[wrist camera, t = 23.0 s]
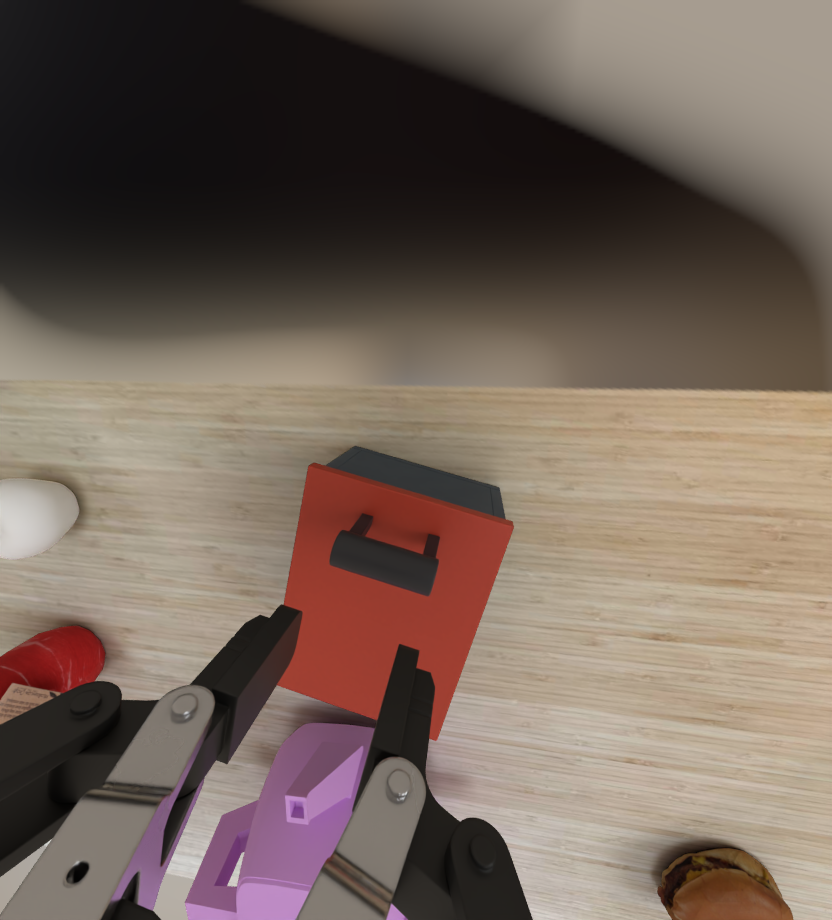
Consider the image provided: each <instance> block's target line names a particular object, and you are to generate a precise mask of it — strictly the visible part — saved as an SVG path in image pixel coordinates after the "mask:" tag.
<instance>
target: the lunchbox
mask: <svg viewBox="0 0 832 920" xmlns="http://www.w3.org/2000/svg"><path fill="white" fill-rule="evenodd" d="M325 466H328V467H331V468H334V469H338V470H341V471H344V472H348V473H351V474H354V475H358V476H361V477H365V478H368V479H371V480H375V481H378V482H381V483H385V484H388V485H391V486H395V487H398V488H402V489H405V490H408V491H412V492H415V493H418V494H422V495H425V496H429V497H432V498H435V499H439V500H442V501H445V502H449V503H452V504H455V505H459V506H462V507H466V508H469V509H472V510H476V511H479V512H482V513H486V514H489V515H492V516H496V517H499V518H503V519H505V514H504V509H503V503H502V498H501V493H500V488H499V487H495V486H492V485H488V484H485V483H481V482H478V481H474V480H471V479H468V478H464V477H461V476H457V475H454V474H450V473H447V472H443V471H440V470H437V469H433V468H430V467H426V466H423V465H419V464H416V463H413V462H409V461H406V460H402V459H399V458H395V457H392V456H388V455H385V454H382V453H378V452H375V451H371V450H368V449H364V448H361V447H357V446H354V447H353V448H351V449H350V450H348V451H347V452H345V453H344V454H342V455H341V456H339V457H338V458H336V459H334V460H333V461H331V462H330V463H328V464H327V465H325Z"/></svg>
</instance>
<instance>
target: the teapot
mask: <svg viewBox="0 0 832 920" xmlns="http://www.w3.org/2000/svg"><path fill="white" fill-rule="evenodd" d="M374 729H375V728H370V727H362V726H355V725H344V724H330V723H308V724H304V725H302V726H301V727H300V728H298V729H297V730H296V731H295V732H294V733H292V734H291V735H290V736H289V737H288V738H287V739H286V740H285V741H284V743H283V744H282V745H281V747H280V749H279V751H278V753H277V755H276V757H275V759H274V761H273V764H272V766H271V769H270V771H269V774H268V776H267V778H266V781H265V784H264V787H263V789H262V792H261V795H260V798H259V800H257V801H255V802H252V803H250V804H248V805H245V806H243V807H240V808H238V809H236V810H233V811H231V812H229V813H226V814H224V815H222V817H221V819H220V822H219V824H218V826H217V829H216V831H215V833H214V836H213V838H212V840H211V843H210V845H209V847H208V850H207V852H206V854H205V857H204V859H203V861H202V864H201V866H200V868H199V871H198V873H197V875H196V878H195V880H194V882H193V885H192V887H191V889H190V892H189V894H188V897H187V899H186V901H185V905H186V910H187V915H188V920H296V918H297V916H298V914H299V912H300V910H301V908H302V906H303V904H304V902H305V900H306V898H307V896H308V894H309V892H310V890H311V888H312V886H313V884H314V882H315V880H316V878H317V876H318V874H319V872H320V870H321V868H322V866H323V864H324V863H325V861H326V860H327V858H328V857H329V858H330V857H331V855H332V853H333V852H334V850H335V848H336V846H337V844H338V842H339V840H340V838H341V836H342V834H343V831H344V829H345V827H346V825H347V823H348V821H349V819H350V817H351V815H352V813H353V812H352V808H353V805H354V801H355V797H356V794H357V790H358V787H359V783H360V780H361V776H362V772H363V769H364V765H365V762H366V758H367V754H368V751H369V747H370V744H371V740H372V737H373V733H374ZM242 852H245V853H244V857H243V861H242V865H241V870H240V875H239V880H238V884H237V887H231V886H227V884H228V882H229V880H230V878H231V875H232V873H233V871H234V869H235V866H236V864H237V862H238V859H239V857H240V855H241V853H242ZM386 920H408V919H407V918H406V917H405V916H404V915H403V914H402V913H401V912H400V911H399V910H398V909H397V908H396V907H395V906H394V905H393V904H392V903H391V906H390V910H389V913H388V916H387V919H386Z"/></svg>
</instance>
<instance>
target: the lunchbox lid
mask: <svg viewBox="0 0 832 920" xmlns="http://www.w3.org/2000/svg"><path fill="white" fill-rule="evenodd" d="M513 528H514V526H513V522H512V521H509V520H506V519H503V518H499V517H496V516H492V515H489V514H486V513H482V512H479V511H476V510H472V509H469V508H466V507H462V506H459V505H455V504H452V503H449V502H445V501H442V500H439V499H435V498H432V497H429V496H425V495H422V494H418V493H415V492H412V491H408V490H405V489H402V488H398V487H395V486H391V485H388V484H385V483H381V482H378V481H375V480H371V479H368V478H365V477H361V476H358V475H354V474H351V473H348V472H344V471H341V470H338V469H334V468H331V467H328V466H324V465H321V464H317V463H312V464H311V465H309V466H308V471H307V477H306V482H305V488H304V494H303V499H302V505H301V510H300V516H299V522H298V527H297V533H296V538H295V544H294V550H293V555H292V561H291V566H290V572H289V578H288V583H287V589H286V595H285V600H284V605H285V606H288V607H291V608H294V609H297V610H300V611H302V612H303V615H302V620H301V625H300V630H299V635H298V640H297V645H296V649H295V652H294V655H293V657H292V660H291V662H290V664H289V666H288V668H287V669H286V671H285V673H284V674H283V676H282V677H281V679H280V681H279V682H278V684H277V685H278V686H281V687H283V688H286V689H289V690H292V691H295V692H298V693H301V694H303V695H306V696H309V697H312V698H315V699H318V700H321V701H323V702H326V703H329V704H332V705H335V706H338V707H340V708H343V709H346V710H349V711H352V712H355V713H358V714H360V715H363V716H366V717H369V718H372V719H375V720H377V719H378V715H379V711H380V708H381V704H382V701H383V697H384V694H385V690H386V687H387V683H388V680H389V676H390V673H391V669H392V666H393V663H394V659H395V656H396V652H397V649H398V646H399V644H402V645H405V646H408V647H411V648H414V649H417V650H420V652H419V657H418V662H417V667H416V668H419V669H422V670H425V671H428V672H431V675H432V678H433V681H434V685H435V695H434V703H433V711H432V717H431V727H430V735H429V739H432V740H435V741H437V739H438V736H439V733H440V730H441V728H442V725H443V722H444V719H445V717H446V714H447V711H448V708H449V705H450V703H451V700H452V697H453V694H454V692H455V689H456V686H457V683H458V681H459V678H460V675H461V672H462V670H463V667H464V664H465V661H466V658H467V656H468V653H469V650H470V647H471V645H472V642H473V639H474V636H475V634H476V631H477V628H478V625H479V623H480V620H481V617H482V614H483V611H484V609H485V606H486V603H487V600H488V598H489V595H490V592H491V589H492V587H493V584H494V581H495V578H496V575H497V573H498V570H499V567H500V564H501V562H502V559H503V556H504V553H505V551H506V548H507V545H508V542H509V540H510V537H511V534H512V531H513Z"/></svg>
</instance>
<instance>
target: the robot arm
mask: <svg viewBox="0 0 832 920" xmlns="http://www.w3.org/2000/svg"><path fill="white" fill-rule="evenodd" d="M302 615H303V612H302V611H300V610H297V609H294V608H291V607H288V606H285V605H280V606H279V607H278V608H277V609H276V611H275V612H274V613H273V614H272V616H271V617H270V618H268V617H265V616H262V615H259V616H257V617H255V618H254V619H252V620H250V621H248V622H246V623H245V624H244V625H243V626H242V627H241V628H240V630H239V631H238V632H237V633H236V634H235V636H234V637H232V638H231V640H230V641H229V642H228V643H227V644H226V646H225V647H223V648H222V650H221V651H220V652H219V653H218V654H217V655H216V656H215V657H214V658H213V660H212V661H211V662H210V663H209V664H208V665H207V666H206V667H205V669H204V670H203V671H202V672H201V673H200V674H199V675H198V676H197V677H196V679H195V680H194V681H193V682H192V683H191V684H190V685H187V686H182V687H179V688H176V689H174V690H172V691H170V692H168V693H167V694H166V695H164V696H163V697H162V698H161V699H160V700H151V701H143V700H121V699H122V693H121V690H120V689H119V687H118V686H117V685H115V684H113V683H110V682H105V681H96V682H90V683H85V684H82V685H79V686H77V687H75V688H73V689H71V690H69V691H67V692H65V693H63V694H61V695H59V696H57V697H55V698H53V699H51V700H49V701H47V702H45V703H43V704H41V705H39V706H37V707H35V708H32V709H30V710H28V711H26V712H24V713H22V714H20V715H18V716H16V717H14V718H12V719H10V720H8V721H6V722H4V723H2V724H0V877H1V876H2V875H4V874H5V873H6V872H8V871H9V870H10V869H12V868H13V867H14V866H16V865H17V864H19V863H20V862H21V861H22V860H24V859H25V858H27V857H28V856H29V855H31V854H32V853H33V852H35V851H36V850H37V849H39V848H40V847H41V846H43V845H44V844H46V843H47V842H48V841H50V840H51V839H52V838H53V839H52V840H51V842H50V843H49V845H48V846H47V847H46V849H45V851H44V852H43V853H42V855H41V856H40V858H39V859H38V861H37V862H36V863H35V865H34V866H33V868H32V869H31V871H30V872H29V874H28V875H27V877H26V878H25V879H24V881H23V882H22V884H21V885H20V887H19V888H18V890H17V891H16V893H15V894H14V895H13V897H12V898H11V900H10V901H9V903H8V904H7V905H6V907H5V908H4V910H3V911H2V913H1V914H0V920H161V919H160V918H159V917H158V916H157V915H156V914H155V912H154V911H153V908H154V905H155V902H156V899H157V895H158V892H159V888H160V885H161V882H162V879H163V877H164V874H165V872H166V870H167V867H168V865H169V863H170V860H171V858H172V856H173V853H174V851H175V849H176V846H177V844H178V842H179V839H180V837H181V835H182V833H183V830H184V828H185V826H186V823H187V821H188V819H189V816H190V814H191V812H192V809H193V807H194V805H195V802H196V800H197V798H198V796H199V793H200V791H201V789H202V786H203V783H204V777H205V776H206V774H207V773H208V771H209V770H210V768H211V767H212V765H213V764H214V762H215V761H216V760H217V761H220V762H223V763H225V764H228V762H229V760H230V759H231V757H232V756H233V754H234V752H235V751H236V749H237V748H238V746H239V744H240V743H241V741H242V740H243V738H244V736H245V735H246V733H247V732H248V730H249V728H250V727H251V725H252V724H253V722H254V720H255V719H256V717H257V716H258V714H259V712H260V711H261V709H262V708H263V706H264V705H265V703H266V701H267V700H268V698H269V697H270V695H271V693H272V692H273V690H274V689H275V687H276V685H277V684H278V682H279V681H280V679H281V677H282V676H283V674H284V673H285V671H286V669H287V668H288V666H289V664H290V662H291V660H292V657H293V655H294V652H295V649H296V645H297V640H298V635H299V630H300V625H301V620H302ZM419 652H420V650H417V649H414V648H411V647H408V646H405V645H402V644H399V646H398V649H397V652H396V656H395V659H394V663H393V666H392V669H391V673H390V676H389V680H388V683H387V687H386V690H385V694H384V697H383V701H382V704H381V708H380V711H379V715H378V719H377V722H376V726H375V729H374V733H373V737H372V740H371V744H370V747H369V751H368V754H367V758H366V762H365V765H364V769H363V772H362V776H361V780H360V783H359V787H358V790H357V794H356V797H355V801H354V805H353V808H352V812H353V813H352V815H351V817H350V819H349V821H348V823H347V825H346V827H345V829H344V831H343V834H342V836H341V838H340V840H339V842H338V844H337V846H336V848H335V850H334V852H333V853H332V855H331V857H330V858H329V857H328V858H327V860H326V861H325V863H324V864H323V866H322V868H321V870H320V872H319V874H318V876H317V878H316V880H315V882H314V884H313V886H312V888H311V890H310V892H309V894H308V896H307V898H306V900H305V902H304V904H303V906H302V908H301V910H300V912H299V914H298V916H297V918H296V920H386V919H387V916H388V913H389V910H390V906H391V903H392V904H393V905H394V906H395V907H396V908H397V909H398V910H399V911H400V912H401V913H402V914H403V915H404V916H405V917H406V918H407V919H408V920H533V919H532V916H531V913H530V910H529V908H528V905H527V902H526V899H525V896H524V893H523V890H522V887H521V884H520V881H519V879H518V876H517V873H516V870H515V867H514V864H513V861H512V858H511V855H510V852H509V850H508V847H507V845H506V843H505V841H504V839H503V838H502V836H501V835H500V834H499V832H498V831H497V830H496V829H495V828H494V827H493V826H492V825H491V824H489V823H488V822H486V821H484V820H482V819H479V818H466V819H464V820H462V821H461V822H459V821H458V820H457V819H456V818H454V817H453V816H452V815H451V814H450V813H448V812H447V811H446V810H445V809H444V808H442V807H441V806H440V805H439V804H438V802H437V801H436V800H435V798H434V797H433V795H432V794H431V792H430V790H429V787H428V784H427V781H426V774H425V768H426V759H427V751H428V743H429V735H430V727H431V717H432V711H433V703H434V695H435V685H434V681H433V678H432V675H431V672H428V671H425V670H422V669H419V668H416V667H417V662H418V657H419Z"/></svg>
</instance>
